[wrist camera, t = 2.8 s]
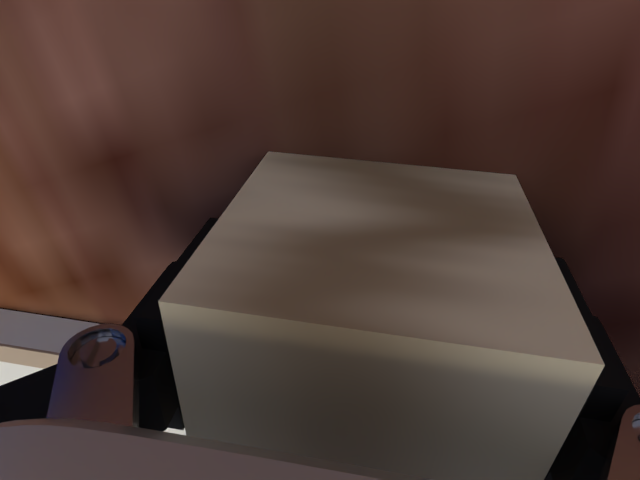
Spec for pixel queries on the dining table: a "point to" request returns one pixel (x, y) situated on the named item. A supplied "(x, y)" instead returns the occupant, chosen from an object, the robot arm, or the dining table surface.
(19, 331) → the base board
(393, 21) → the dining table surface
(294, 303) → the maple cube
